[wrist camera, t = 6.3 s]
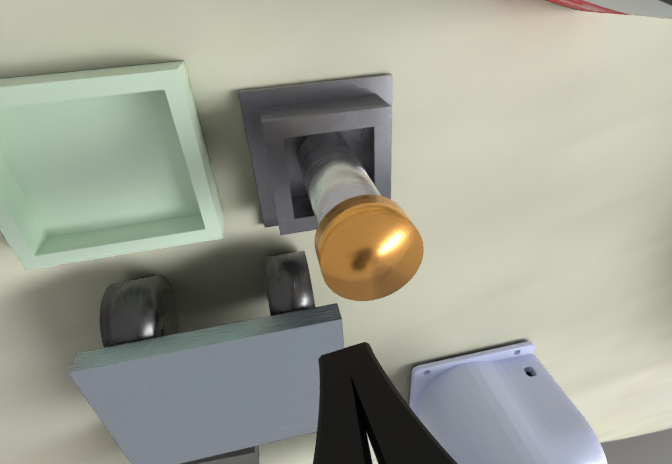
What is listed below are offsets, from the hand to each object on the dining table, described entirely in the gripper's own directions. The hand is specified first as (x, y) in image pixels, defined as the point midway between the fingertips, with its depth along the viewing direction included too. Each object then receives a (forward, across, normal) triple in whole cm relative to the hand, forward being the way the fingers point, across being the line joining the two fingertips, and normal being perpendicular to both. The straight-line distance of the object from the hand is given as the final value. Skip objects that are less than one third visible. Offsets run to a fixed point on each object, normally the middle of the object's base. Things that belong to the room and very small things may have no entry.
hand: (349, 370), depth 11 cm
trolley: (+10, +6, +6) cm, 13 cm away
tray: (+10, +7, -4) cm, 13 cm away
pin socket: (+10, -2, -2) cm, 10 cm away
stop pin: (+10, -2, -2) cm, 10 cm away
